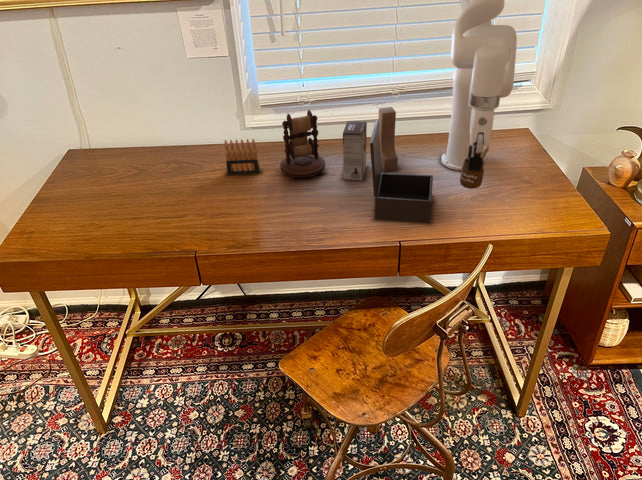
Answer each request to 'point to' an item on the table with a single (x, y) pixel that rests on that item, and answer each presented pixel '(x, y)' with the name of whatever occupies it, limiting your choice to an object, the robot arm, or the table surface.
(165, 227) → the table surface
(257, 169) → the ammunition clip
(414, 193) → the black box
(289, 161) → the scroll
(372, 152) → the lid
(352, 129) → the coffee box
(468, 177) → the utensil holder
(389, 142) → the wooden block
